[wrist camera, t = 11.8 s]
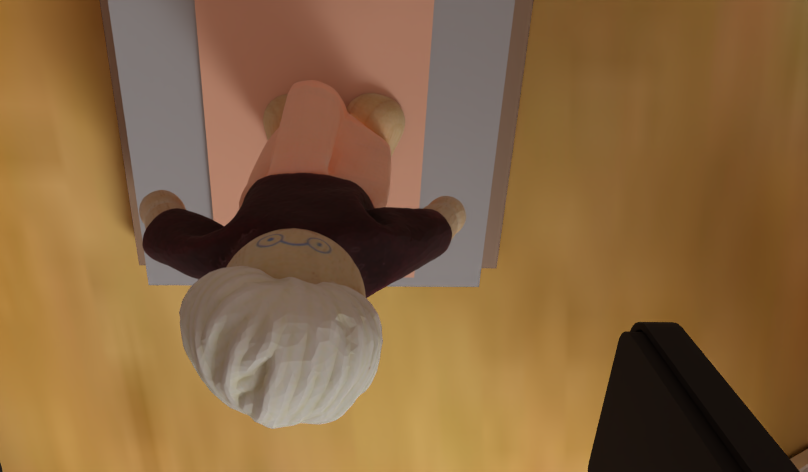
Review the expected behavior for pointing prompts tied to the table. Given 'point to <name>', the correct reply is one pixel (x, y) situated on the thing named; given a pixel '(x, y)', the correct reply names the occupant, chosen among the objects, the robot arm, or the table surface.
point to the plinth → (340, 69)
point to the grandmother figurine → (299, 259)
